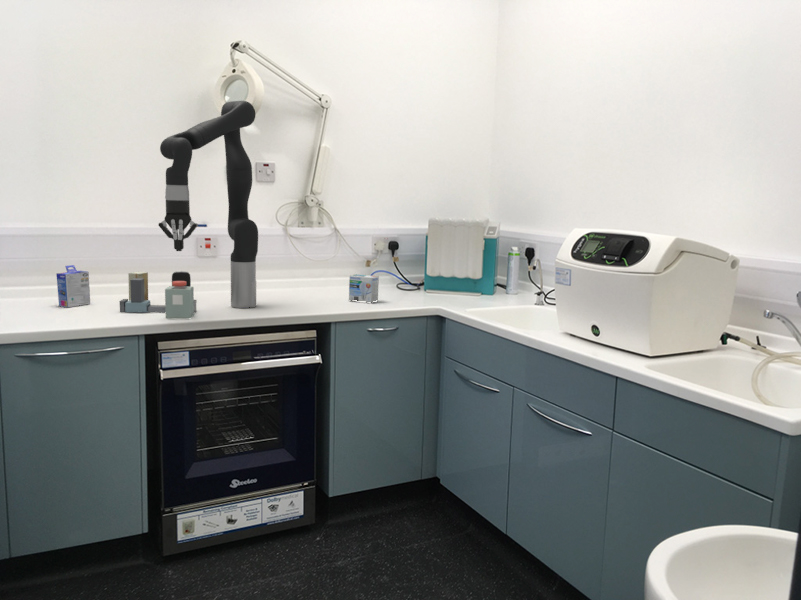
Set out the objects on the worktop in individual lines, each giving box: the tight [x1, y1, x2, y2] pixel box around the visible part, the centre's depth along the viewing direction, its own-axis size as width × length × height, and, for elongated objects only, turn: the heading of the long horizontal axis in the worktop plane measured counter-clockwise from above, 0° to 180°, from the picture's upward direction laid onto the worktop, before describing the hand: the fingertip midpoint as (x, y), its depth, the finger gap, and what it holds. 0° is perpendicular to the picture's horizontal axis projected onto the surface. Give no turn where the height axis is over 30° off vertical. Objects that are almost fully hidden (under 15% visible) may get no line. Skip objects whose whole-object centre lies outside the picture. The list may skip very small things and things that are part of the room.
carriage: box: [125, 278, 151, 313], centre depth 228 cm, size 7×6×11 cm
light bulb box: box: [348, 274, 380, 302], centre depth 266 cm, size 11×7×11 cm, turn 68°
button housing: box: [164, 285, 195, 319], centre depth 221 cm, size 8×7×10 cm
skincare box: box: [127, 271, 149, 301], centre depth 240 cm, size 6×4×12 cm
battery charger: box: [171, 270, 192, 287], centre depth 253 cm, size 7×4×11 cm, turn 109°
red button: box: [171, 281, 187, 289], centre depth 221 cm, size 5×5×10 cm
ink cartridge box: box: [55, 264, 91, 308], centre depth 235 cm, size 10×6×14 cm, turn 155°
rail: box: [119, 298, 197, 314], centre depth 229 cm, size 25×5×4 cm, turn 98°
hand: (178, 250), depth 218 cm, fingers closed
